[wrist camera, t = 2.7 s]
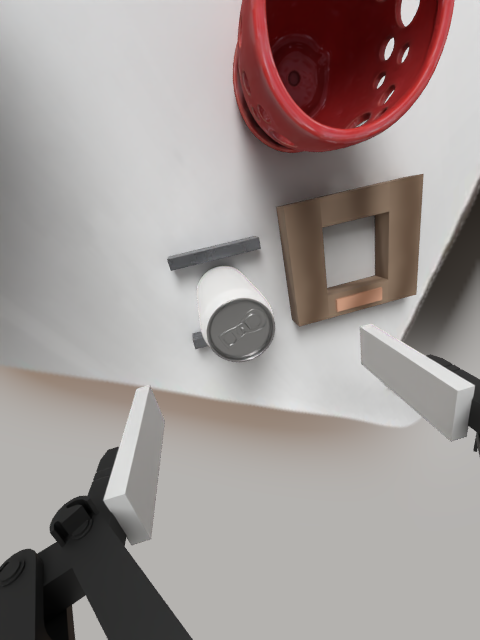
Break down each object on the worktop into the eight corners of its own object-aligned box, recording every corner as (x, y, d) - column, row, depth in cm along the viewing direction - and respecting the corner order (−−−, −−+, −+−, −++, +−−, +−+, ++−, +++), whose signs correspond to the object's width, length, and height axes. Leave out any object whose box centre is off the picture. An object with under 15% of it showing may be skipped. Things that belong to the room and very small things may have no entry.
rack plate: (292, 319, 36) (300, 327, 33) (276, 207, 30) (284, 206, 28) (402, 289, 37) (418, 295, 35) (406, 176, 32) (425, 173, 29)
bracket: (195, 341, 34) (195, 349, 33) (168, 256, 30) (167, 259, 28) (269, 321, 35) (274, 327, 33) (254, 236, 31) (258, 237, 29)
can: (259, 296, 34) (294, 336, 23) (217, 326, 34) (232, 380, 23) (229, 253, 31) (252, 276, 20) (184, 286, 32) (183, 326, 21)
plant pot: (194, 83, 25) (200, -17, 14) (298, -42, 23) (399, -272, 12) (282, 195, 30) (338, 186, 19) (374, 99, 28) (494, 27, 17)
